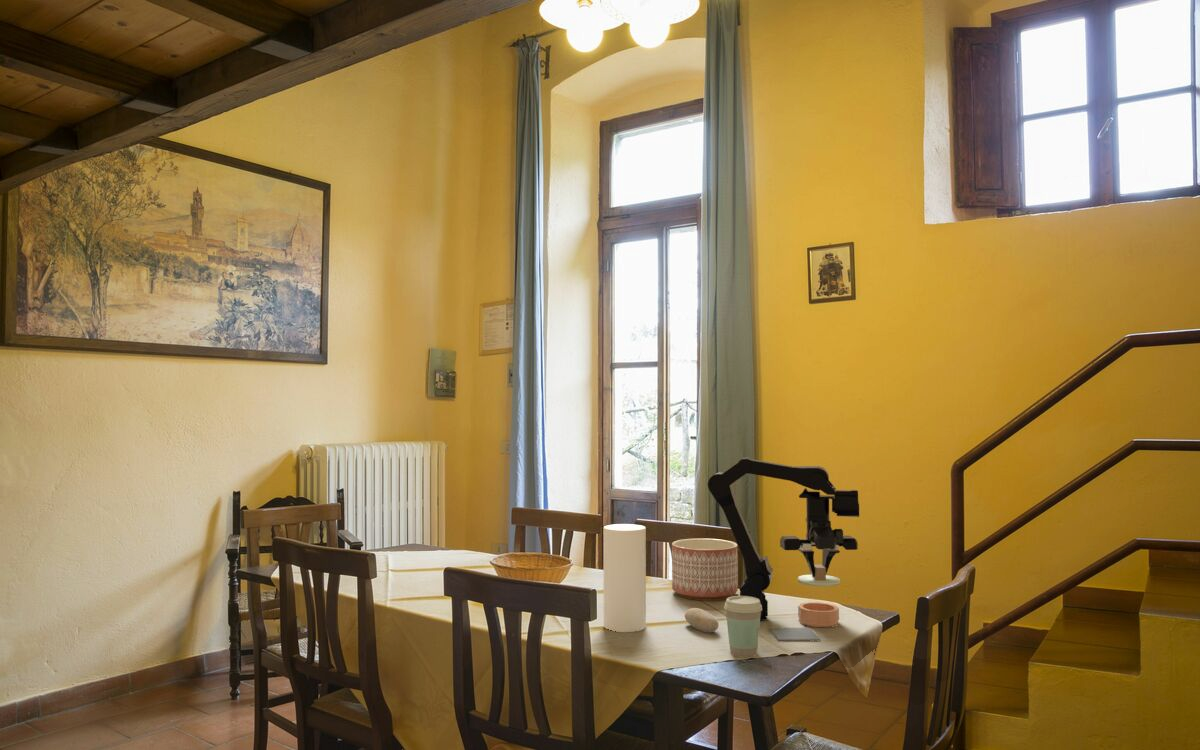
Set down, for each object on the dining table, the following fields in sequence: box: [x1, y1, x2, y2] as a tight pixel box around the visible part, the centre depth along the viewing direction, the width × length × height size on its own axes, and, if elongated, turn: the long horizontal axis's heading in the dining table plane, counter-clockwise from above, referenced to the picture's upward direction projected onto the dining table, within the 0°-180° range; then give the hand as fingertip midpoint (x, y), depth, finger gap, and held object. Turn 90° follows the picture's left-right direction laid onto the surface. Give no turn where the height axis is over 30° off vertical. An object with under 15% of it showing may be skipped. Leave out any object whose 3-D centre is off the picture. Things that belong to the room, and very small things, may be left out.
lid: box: [797, 563, 841, 587], centre depth 209 cm, size 10×10×4 cm
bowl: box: [797, 601, 840, 628], centre depth 209 cm, size 10×10×4 cm
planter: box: [671, 537, 739, 601], centre depth 240 cm, size 19×19×15 cm
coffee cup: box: [723, 595, 762, 658], centre depth 184 cm, size 8×8×12 cm
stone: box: [684, 607, 720, 633], centre depth 203 cm, size 6×6×12 cm
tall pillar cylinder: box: [603, 523, 647, 633], centre depth 206 cm, size 11×11×25 cm
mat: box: [768, 627, 821, 642], centre depth 198 cm, size 10×10×1 cm
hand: (818, 576), depth 209 cm, fingers closed on lid, 2 cm apart
